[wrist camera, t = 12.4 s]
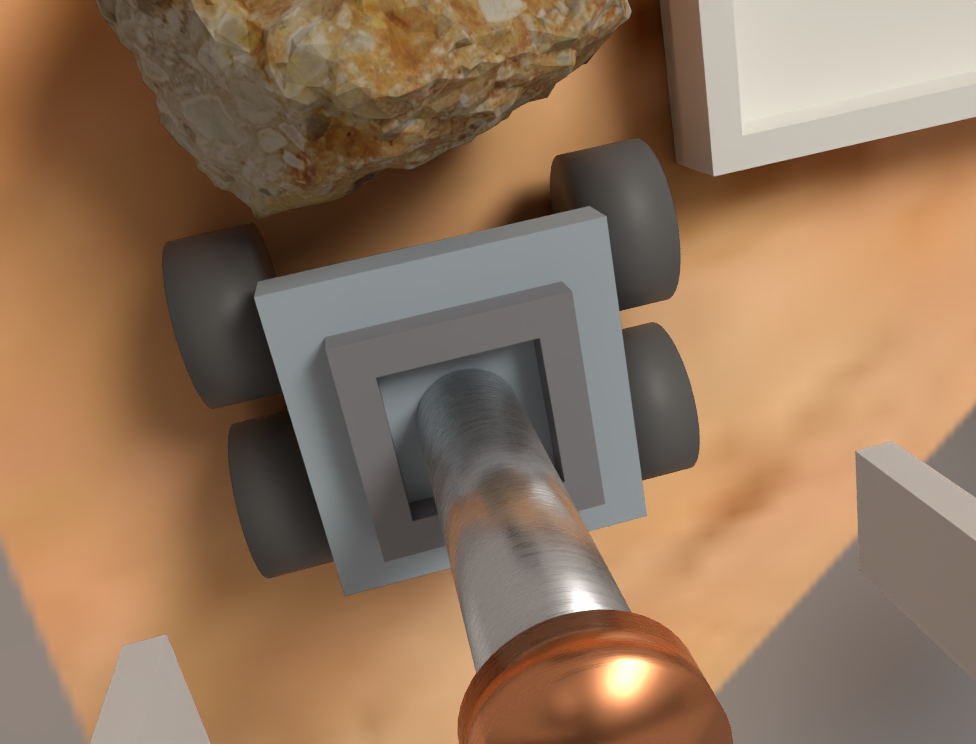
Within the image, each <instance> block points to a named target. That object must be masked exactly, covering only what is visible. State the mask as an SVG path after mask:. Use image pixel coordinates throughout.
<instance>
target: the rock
mask: <svg viewBox="0 0 976 744" xmlns="http://www.w3.org/2000/svg"><path fill="white" fill-rule="evenodd" d="M95 1H96V3H97V6H98V8H99V10H100V13H101V15H102V17H103V18H104V19H105V21H106V22H107V23H108V24H109V26H110V27H111V28H112V29H113V31H114V32H115V33H116V35H117V38H118V40H119V42H120V43H121V44H122V45H123V46H125V47H126V48H127V49H128V50H129V51H130V52H132V53H133V54H134V56H135V59H136V63H137V66H138V69H139V72H140V75H141V77H142V80H143V82H144V83H145V84H146V85H147V86H148V88H149V89H150V90H151V91H152V92H153V93H154V94H155V95H156V96H157V98H156V102H155V104H156V105H157V107H158V109H159V111H160V116H159V122H160V123H161V124H162V125H163V126H164V128H165V129H166V130H167V131H168V132H169V133H170V134H171V135H172V137H173V138H174V139H175V140H176V141H177V143H178V144H180V145H181V146H182V147H183V148H185V149H186V150H187V151H188V152H189V153H190V154H191V155H192V156H193V158H194V161H195V164H196V167H197V169H198V170H199V171H201V172H203V173H205V174H206V175H207V177H208V178H209V179H210V181H211V182H212V183H213V185H214V186H216V187H218V188H220V189H221V190H226V191H231V192H232V193H233V194H234V195H236V196H237V197H238V198H239V199H240V200H241V201H243V202H244V203H245V204H246V205H248V206H249V207H251V209H252V213H253V216H255V217H257V218H259V219H260V220H261V219H263V218H266V217H269V216H271V215H274V214H276V213H279V212H283V211H287V210H292V209H296V208H301V207H306V206H311V205H316V204H322V203H327V202H331V201H334V200H337V199H340V198H343V197H346V196H348V195H349V194H351V193H352V192H353V191H355V190H356V189H357V188H359V187H360V186H362V185H364V184H367V183H368V182H369V181H370V180H372V179H374V178H375V177H376V176H377V175H378V174H379V173H380V172H381V171H382V170H384V169H386V168H397V169H413V168H415V167H418V166H420V165H423V164H424V163H426V162H428V161H430V160H431V159H433V158H435V157H437V156H438V155H440V154H442V153H444V152H446V151H447V150H449V149H452V148H455V147H458V146H460V145H463V144H466V143H469V142H471V141H472V140H473V139H474V138H475V137H476V136H477V135H479V134H481V133H483V132H485V131H487V130H489V129H491V128H492V127H494V126H496V125H497V124H498V123H499V122H500V121H502V120H505V119H507V118H508V117H509V115H510V114H511V112H512V111H513V110H515V109H516V108H518V107H520V106H521V105H523V104H525V103H528V102H531V101H535V100H539V99H543V98H547V97H548V96H549V94H550V93H551V91H552V89H553V88H554V86H555V84H556V83H557V82H559V81H560V80H562V79H564V78H565V77H567V75H568V74H570V73H571V72H573V71H574V70H576V69H577V68H578V67H580V66H581V65H583V64H587V63H588V62H589V60H590V59H591V58H592V56H593V55H594V54H595V52H596V51H597V50H598V49H599V48H600V47H601V45H602V44H603V43H604V42H605V41H606V40H607V39H608V38H609V37H610V35H611V34H612V33H613V32H614V31H615V30H616V29H617V27H618V26H620V25H621V24H623V23H624V22H625V21H627V20H628V19H629V17H630V14H631V8H630V6H629V3H628V0H95Z"/></svg>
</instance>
